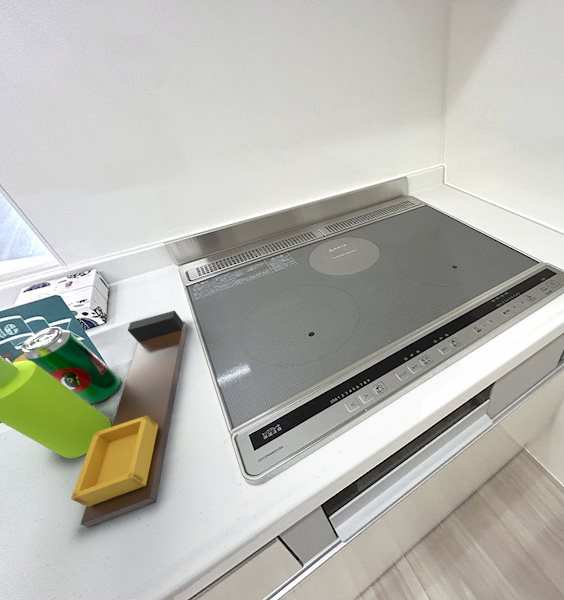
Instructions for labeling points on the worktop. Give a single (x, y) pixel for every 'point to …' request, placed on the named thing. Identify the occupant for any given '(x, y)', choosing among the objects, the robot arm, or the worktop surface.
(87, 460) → the tray
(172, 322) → the end stop
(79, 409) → the soap dispenser
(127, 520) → the worktop surface
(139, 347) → the board
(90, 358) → the soda can
